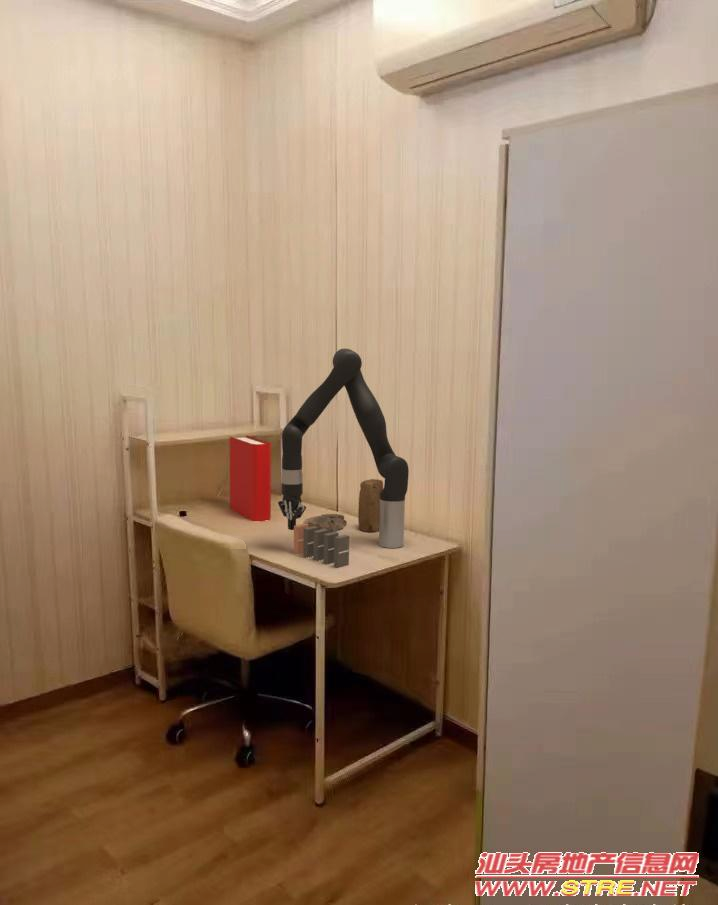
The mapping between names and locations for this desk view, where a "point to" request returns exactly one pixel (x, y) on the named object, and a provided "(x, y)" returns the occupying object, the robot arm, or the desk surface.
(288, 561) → the desk surface
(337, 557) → the domino
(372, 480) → the block
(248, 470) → the book
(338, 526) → the flat rock
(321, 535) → the domino
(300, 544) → the domino
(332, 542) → the domino
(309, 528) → the domino
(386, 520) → the robot arm
